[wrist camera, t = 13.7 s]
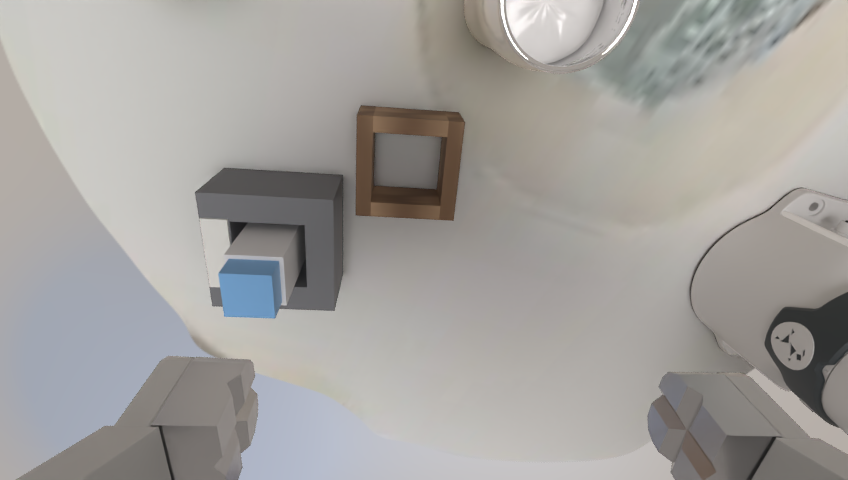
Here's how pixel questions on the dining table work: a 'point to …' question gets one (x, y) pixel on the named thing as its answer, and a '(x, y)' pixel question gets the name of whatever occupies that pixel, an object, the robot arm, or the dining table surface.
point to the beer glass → (550, 30)
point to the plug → (261, 269)
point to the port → (277, 204)
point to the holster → (398, 198)
